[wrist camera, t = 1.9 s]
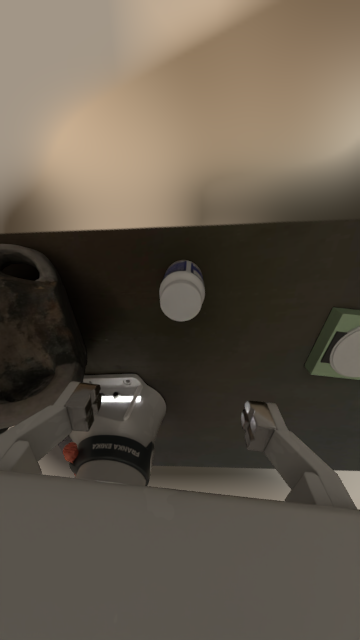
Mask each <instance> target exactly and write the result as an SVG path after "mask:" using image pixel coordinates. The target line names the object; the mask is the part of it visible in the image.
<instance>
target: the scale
mask: <svg viewBox="0 0 360 640" xmlns="http://www.w3.org/2000/svg"><path fill="white" fill-rule="evenodd" d="M304 366H305V367H306V369H307V370H308V371H309V373H310V374H311V375H320V376H329V377H338V378H347V379H356V380H360V310H354V309H345V308H336V307H333V308H332V310H331V312H330V314H329V316H328V318H327V320H326V322H325V325H324V327H323V329H322V331H321V333H320V335H319V337H318V339H317V341H316V343H315V345H314V347H313V349H312V351H311V353H310V355H309V357H308V359H307V361H306V363H305V365H304Z"/></svg>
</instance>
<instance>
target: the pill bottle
mask: <svg viewBox="0 0 360 640" xmlns="http://www.w3.org/2000/svg"><path fill="white" fill-rule="evenodd" d="M159 296H160V306H161V309H162V311H163V312H164V314H165V315H166V316H167V317H169V318H170V319H172V320H175V321H187V320H190V319H192V318H193V317H195V316H196V315H197V314H198V313H199V311H200V309H201V305H202V303H203V301H204V297H205V288H204V282H203V277H202V273H201V271H200V269H199V267H198V266H197V265H196V264H194V263H193V262H191V261H187V260H180V261H177V262H174V263H173V264H172V265H170V267H169V268H168V269H167V271H166V273H165V276H164V278H163V281H162V283H161V285H160V289H159Z"/></svg>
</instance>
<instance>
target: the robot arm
mask: <svg viewBox="0 0 360 640" xmlns="http://www.w3.org/2000/svg"><path fill="white" fill-rule="evenodd" d="M245 408H246V409H244V410H243V411H242V414H241V424H242V429H243V430H244V431H245V432H246V434H245V436H244V437H245V441H246V445H247V449H249V450H256V451H263V452H264V454H265V455H266V456H267V458H268V459H269V460H270V462H271V463H272V464H273V466H274V467H275V468H276V470H277V471H278V472H279V473H280V475H281V476H282V478H283V479H284V480H285V482H286V483H287V484H288V486H289V487H290V488H291V492H290V493H289V494H288V496H287V497H286V499H285V502H284V501H275V500H266V499H257V498H248V497H239V496H230V495H221V494H212V493H203V492H195V491H186V490H176V489H168V488H158V487H148V486H147V485H148V482H149V477H150V475H151V470H152V464H153V458H154V442H155V439H156V435H157V432H158V429H159V426H160V424H161V421H162V419H163V417H164V415H165V413H166V404H165V401H164V399H163V398H162V396H161V395H160V394H159V393H158V392H157V391H156V390H154V389H153V388H151V387H149V386H148V385H147V384H145V383H144V381H143V380H142V379H141V378H140V377H139V376H138V375H137V374H110V375H84V379H83V382H76V381H72V382H70V383H69V384H68V386H67V387H66V388H65V390H64V391H63V392H62V394H61V395H60V396H59V398H58V399H57V400H56V402H55V403H54V405H50V406H48V407H46V408H44V409H43V410H41V411H39V412H38V413H36V414H34V415H33V416H31V417H29V418H27V419H26V420H24V421H22V422H21V423H19V424H17V425H16V426H14V427H12V428H10V429H9V430H7V431H5V432H4V433H2V434H0V640H360V510H357V508H356V506H355V504H354V502H353V501H352V499H351V497H350V495H349V494H348V492H347V490H346V488H345V487H344V485H343V483H342V481H341V480H340V478H339V476H338V474H337V473H335V472H334V471H333V470H332V469H331V468H330V467H329V466H328V465H327V464H326V463H325V462H324V461H322V460H321V459H320V458H319V457H318V456H317V455H316V454H315V453H314V452H313V451H312V450H311V449H310V448H308V447H307V446H306V445H305V444H304V443H303V442H302V441H301V440H300V439H299V438H298V437H297V436H295V435H294V434H293V433H292V432H290V431H288V429H287V427H286V425H285V423H284V420H283V418H282V416H281V414H280V412H279V410H278V407H277V405H276V404H275V403H268V402H259V401H248V400H247V401H246V402H245ZM67 436H70V438H71V439H72V441H73V442H72V443H69V444H68V445H66V446H65V447H64V450H63V454H64V456H65V460H66V461H70V463H69V465H70V468H71V470H72V471H73V472H74V475H75V478H67V477H59V476H50V475H41V474H42V472H41V469H40V466H39V464H38V461H39V460H40V459H41V458H42V457H44V456H45V455H46V454H47V453H48V452H49V451H51V450H52V449H53V448H54V447H55V446H56V445H57V444H59V443H60V442H61V441H62V440H63V439H64V438H66V437H67Z"/></svg>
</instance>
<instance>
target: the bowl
mask: <svg viewBox="0 0 360 640" xmlns="http://www.w3.org/2000/svg"><path fill="white" fill-rule="evenodd" d="M21 263H24V264H28V265H31V266H33V267H35V268H36V269H38V271H39V273H40V275H39V279H37V280H35V281H32V280H25V279H20V278H16V277H13V276H10V275H6V274H4V273H3V272H2V270H3V269H4V268H5V267H7V266H9V265H11V264H21ZM86 365H87V350H86V346H85V344H84V341H83V338H82V335H81V332H80V330H79V327H78V324H77V322H76V319H75V316H74V313H73V311H72V308H71V305H70V302H69V299H68V296H67V293H66V290H65V287H64V285H63V284H62V281H61V277H60V275H59V273H58V272H57V270H56V269H55V267H54V266H53V264H52V263H51V261H50V260H49V259H48V258H47V257H46V256H44V255H43V254H42V253H40V252H38V251H36V250H34V249H30V248H26V247H23V246H19V245H13V244H0V434H2V433H4V432H5V431H7V429H8V428H9V427H11V426H16V425H17V424H19V423H21V422H22V421H24V420H26V419H27V418H29V417H31V416H33V415H34V414H36V413H38V412H39V411H41V410H43V409H44V408H46V407H48V406H50V405H54V403H55V402H56V400H57V399H58V398H59V396H60V395H61V394H62V392H63V391H64V390H65V388H66V387H67V386H68V384H69V383H70V382H72V381H76V382H83V379H84V374H85V366H86Z"/></svg>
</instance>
